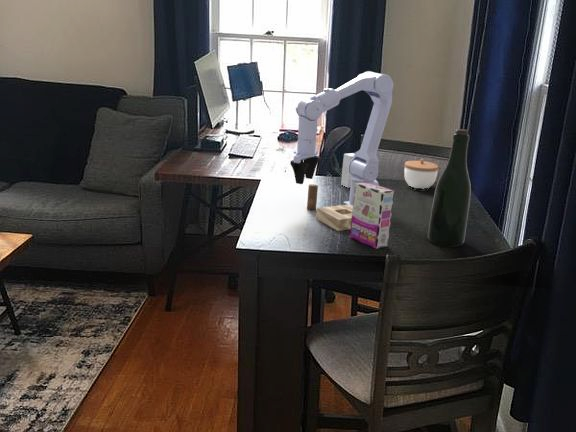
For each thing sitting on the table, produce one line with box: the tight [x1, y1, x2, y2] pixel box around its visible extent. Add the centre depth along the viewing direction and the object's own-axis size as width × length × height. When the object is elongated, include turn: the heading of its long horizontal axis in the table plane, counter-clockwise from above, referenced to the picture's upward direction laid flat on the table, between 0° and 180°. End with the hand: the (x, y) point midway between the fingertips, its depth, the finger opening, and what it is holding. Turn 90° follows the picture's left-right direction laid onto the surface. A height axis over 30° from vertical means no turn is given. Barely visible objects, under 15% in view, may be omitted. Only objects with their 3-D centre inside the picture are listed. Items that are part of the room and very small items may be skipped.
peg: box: [306, 183, 319, 212], centre depth 206 cm, size 3×3×8 cm
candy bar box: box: [349, 182, 395, 250], centre depth 178 cm, size 11×5×16 cm, turn 37°
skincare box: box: [340, 152, 356, 189], centre depth 237 cm, size 6×4×12 cm
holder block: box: [315, 204, 353, 232], centre depth 196 cm, size 12×12×4 cm
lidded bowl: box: [403, 158, 440, 189], centre depth 241 cm, size 13×13×11 cm
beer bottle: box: [427, 128, 472, 248], centre depth 180 cm, size 10×10×33 cm
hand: (304, 180), depth 201 cm, fingers open, 7 cm apart
